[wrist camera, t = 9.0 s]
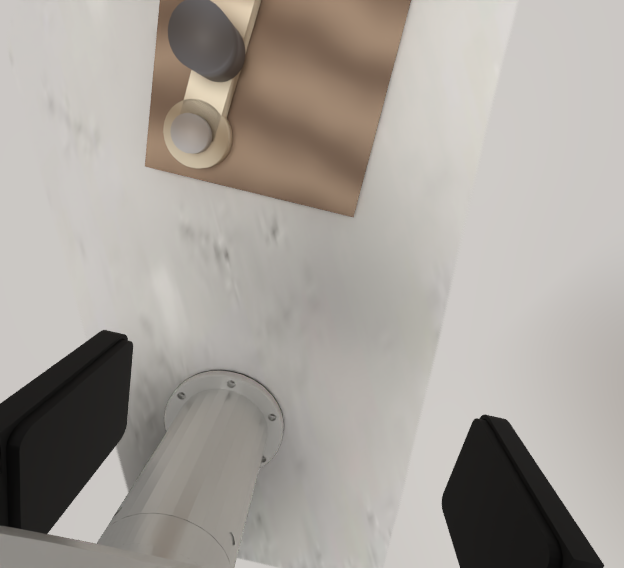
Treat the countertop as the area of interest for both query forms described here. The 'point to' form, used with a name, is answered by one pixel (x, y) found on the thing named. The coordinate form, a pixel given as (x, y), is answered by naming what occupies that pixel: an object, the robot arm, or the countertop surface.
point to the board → (290, 101)
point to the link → (209, 68)
